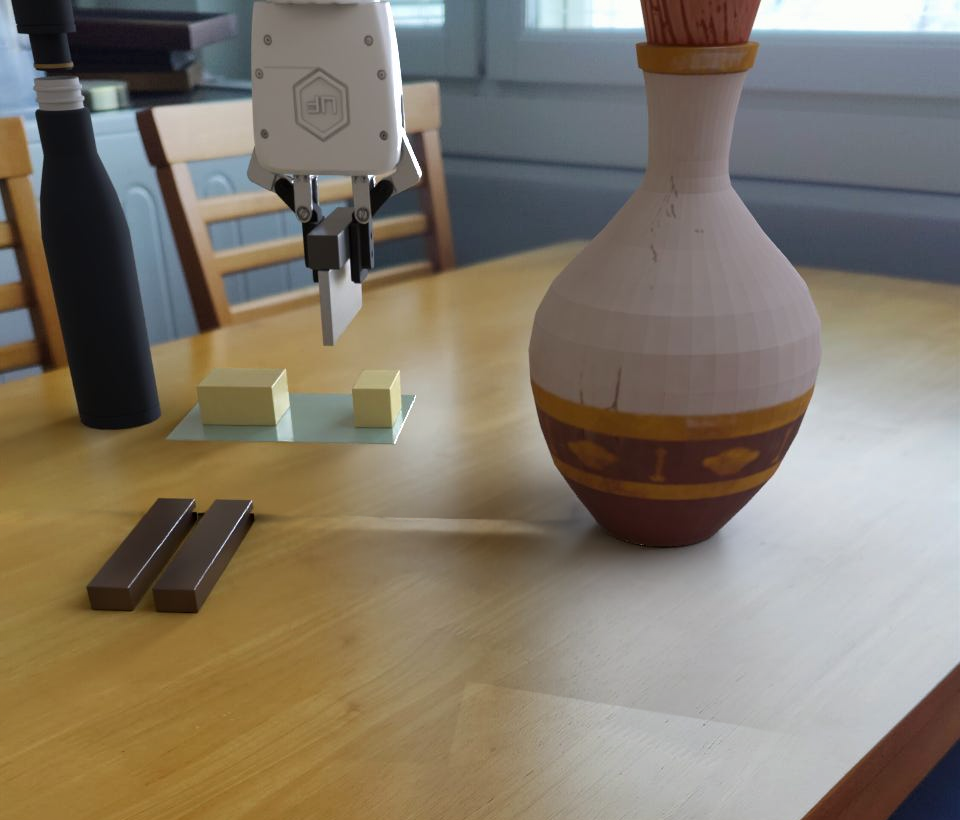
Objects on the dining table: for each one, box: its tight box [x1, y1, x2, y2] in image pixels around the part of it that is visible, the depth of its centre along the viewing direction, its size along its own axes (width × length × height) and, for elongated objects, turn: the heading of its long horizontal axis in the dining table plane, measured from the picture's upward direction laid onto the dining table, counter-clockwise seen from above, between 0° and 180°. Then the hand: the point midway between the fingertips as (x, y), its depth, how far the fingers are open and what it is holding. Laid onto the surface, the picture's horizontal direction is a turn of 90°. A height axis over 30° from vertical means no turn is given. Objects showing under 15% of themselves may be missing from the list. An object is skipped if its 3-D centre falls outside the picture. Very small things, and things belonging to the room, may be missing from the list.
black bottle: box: [10, 0, 162, 431], centre depth 89 cm, size 6×6×30 cm
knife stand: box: [86, 497, 256, 613], centre depth 77 cm, size 7×14×2 cm, turn 174°
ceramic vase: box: [527, 0, 822, 547], centre depth 73 cm, size 20×18×30 cm
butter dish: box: [164, 392, 417, 445], centre depth 98 cm, size 18×12×1 cm, turn 84°
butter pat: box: [351, 369, 402, 428], centre depth 96 cm, size 3×5×3 cm, turn 175°
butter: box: [196, 367, 290, 426], centre depth 97 cm, size 6×5×3 cm
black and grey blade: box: [307, 206, 363, 347], centre depth 90 cm, size 12×2×7 cm, turn 174°
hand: (340, 277), depth 90 cm, fingers closed on black and grey blade, 2 cm apart
